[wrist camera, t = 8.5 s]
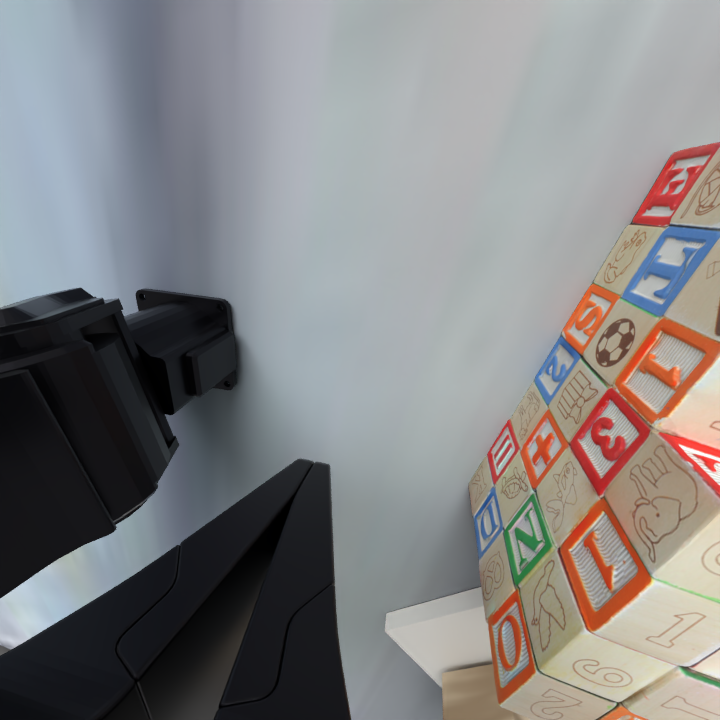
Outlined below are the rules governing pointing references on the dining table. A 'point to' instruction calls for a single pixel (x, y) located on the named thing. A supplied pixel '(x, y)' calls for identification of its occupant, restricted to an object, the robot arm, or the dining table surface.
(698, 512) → the stack of blocks
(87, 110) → the dining table surface
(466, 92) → the dining table surface
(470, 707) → the two dot key
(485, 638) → the white l-shaped holder
